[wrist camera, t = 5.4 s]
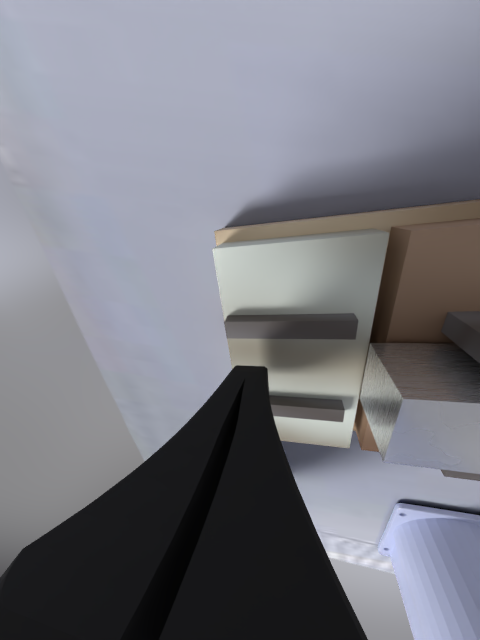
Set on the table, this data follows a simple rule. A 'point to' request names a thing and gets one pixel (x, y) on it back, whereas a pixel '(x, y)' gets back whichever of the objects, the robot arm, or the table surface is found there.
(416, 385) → the bolt
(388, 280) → the lock board
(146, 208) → the table surface
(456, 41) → the table surface
